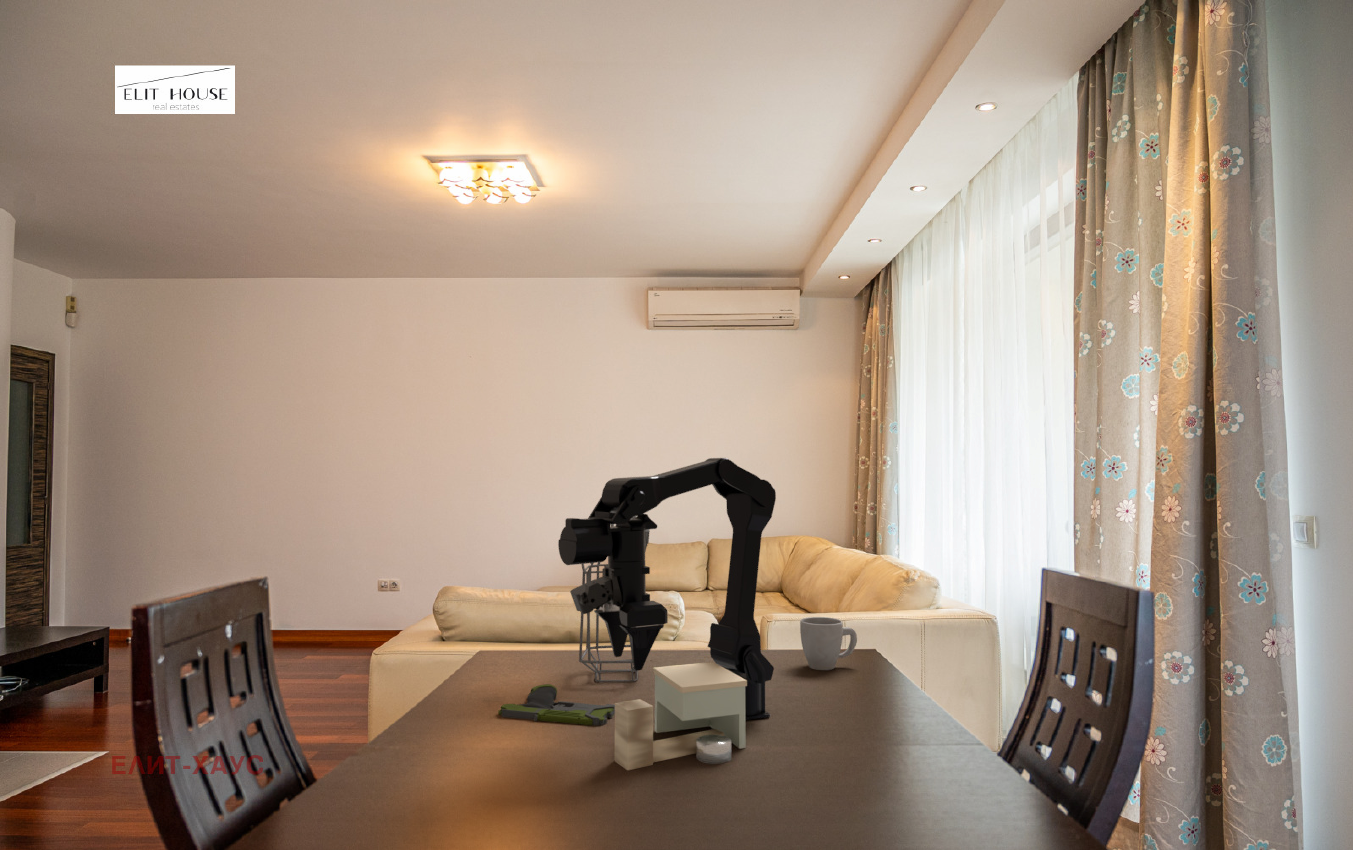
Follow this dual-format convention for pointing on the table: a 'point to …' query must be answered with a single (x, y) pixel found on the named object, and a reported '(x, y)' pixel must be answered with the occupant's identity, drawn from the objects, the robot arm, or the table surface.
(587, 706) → the gun
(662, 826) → the table surface
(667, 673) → the pale green stool
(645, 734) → the wooden l-shaped block
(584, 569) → the geometric lantern
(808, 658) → the mug
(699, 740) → the cylinder
